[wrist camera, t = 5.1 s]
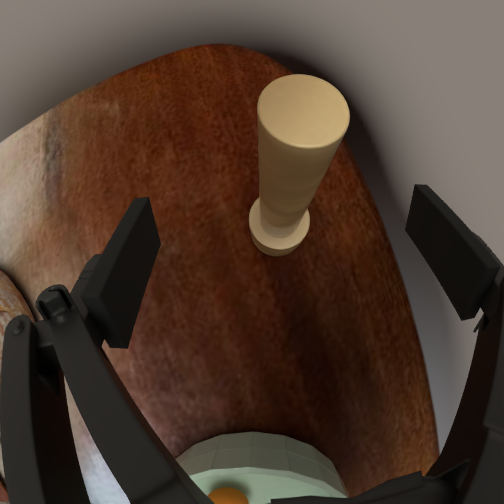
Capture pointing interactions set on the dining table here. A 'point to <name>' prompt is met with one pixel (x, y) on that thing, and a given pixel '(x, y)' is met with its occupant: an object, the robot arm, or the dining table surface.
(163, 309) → the dining table surface
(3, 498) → the planter
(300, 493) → the bowl
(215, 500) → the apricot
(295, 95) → the muddler
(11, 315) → the bread
